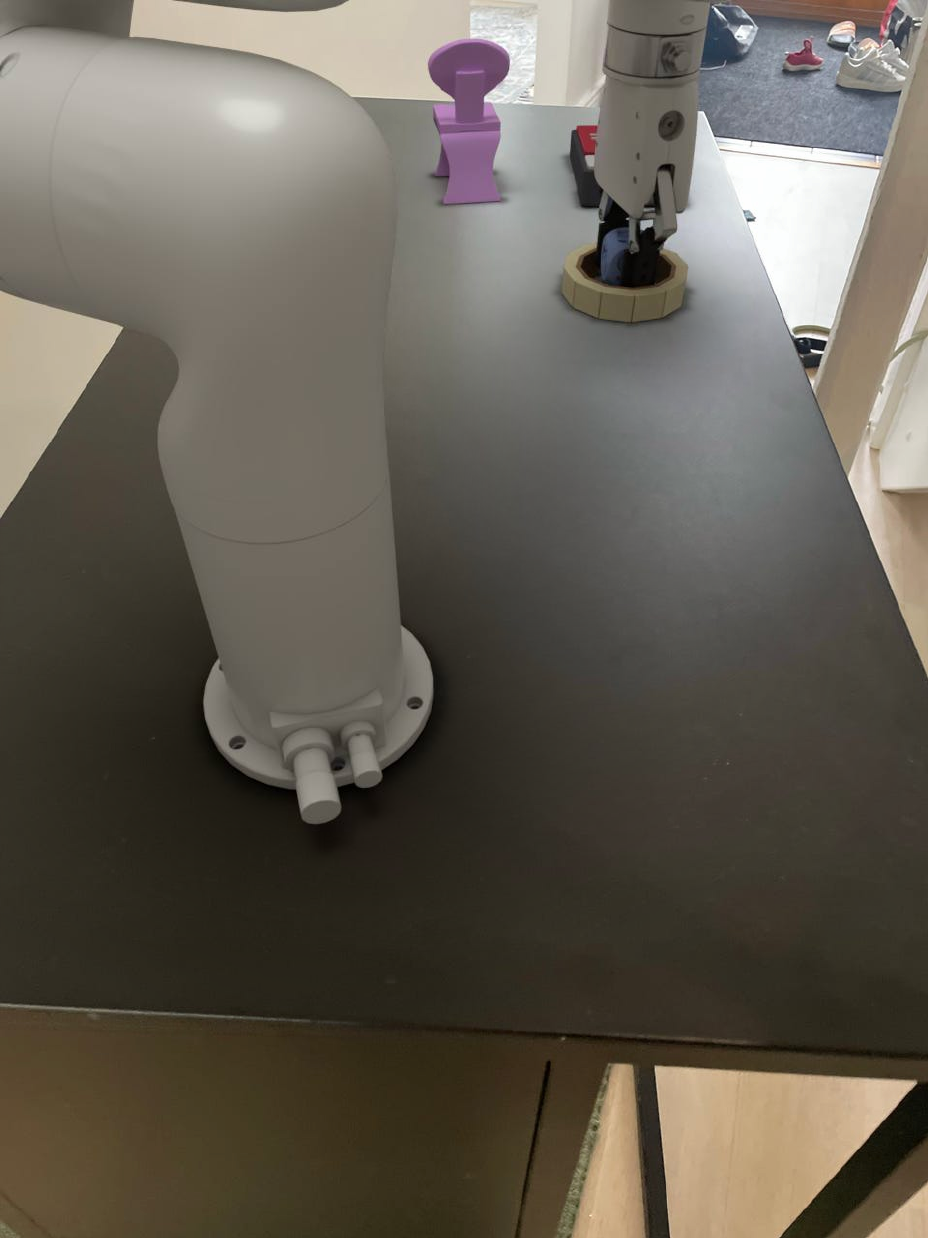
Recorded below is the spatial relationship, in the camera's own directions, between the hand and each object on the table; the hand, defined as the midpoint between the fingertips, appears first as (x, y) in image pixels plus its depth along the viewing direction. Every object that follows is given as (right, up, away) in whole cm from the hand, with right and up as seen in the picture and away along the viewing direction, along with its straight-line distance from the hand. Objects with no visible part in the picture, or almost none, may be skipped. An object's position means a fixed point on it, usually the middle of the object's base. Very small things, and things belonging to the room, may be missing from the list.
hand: (623, 276), depth 83 cm
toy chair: (-14, +17, +19) cm, 29 cm away
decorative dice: (0, 0, 0) cm, 0 cm away
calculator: (+3, +18, +20) cm, 27 cm away
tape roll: (0, -1, +1) cm, 2 cm away
